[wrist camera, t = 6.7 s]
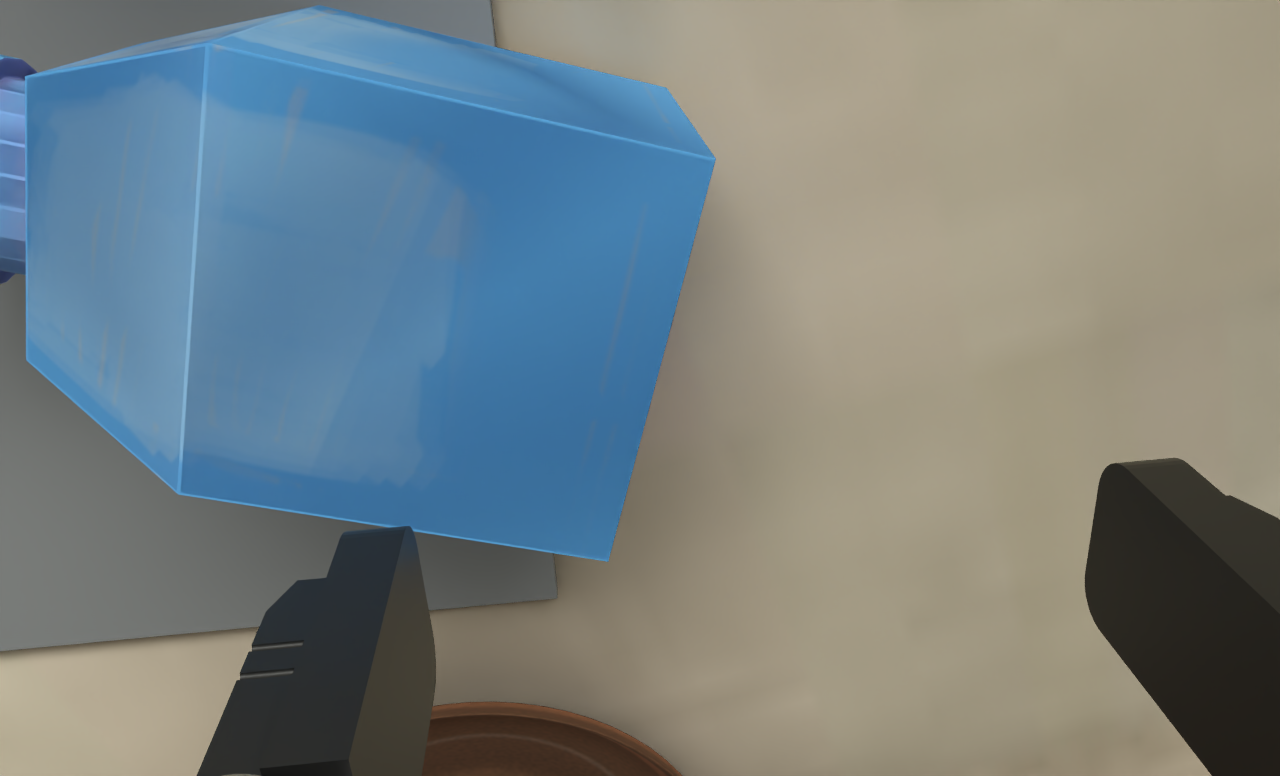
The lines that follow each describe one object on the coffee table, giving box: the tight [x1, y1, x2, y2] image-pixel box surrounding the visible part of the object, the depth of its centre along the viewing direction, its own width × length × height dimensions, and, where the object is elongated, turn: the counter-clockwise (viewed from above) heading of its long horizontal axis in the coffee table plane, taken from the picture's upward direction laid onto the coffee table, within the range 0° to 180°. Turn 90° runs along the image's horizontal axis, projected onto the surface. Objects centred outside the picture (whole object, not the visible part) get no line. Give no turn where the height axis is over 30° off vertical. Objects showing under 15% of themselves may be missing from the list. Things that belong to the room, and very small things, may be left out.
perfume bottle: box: [0, 5, 716, 562], centre depth 16 cm, size 6×6×12 cm
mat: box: [0, 0, 557, 651], centre depth 20 cm, size 14×14×1 cm
